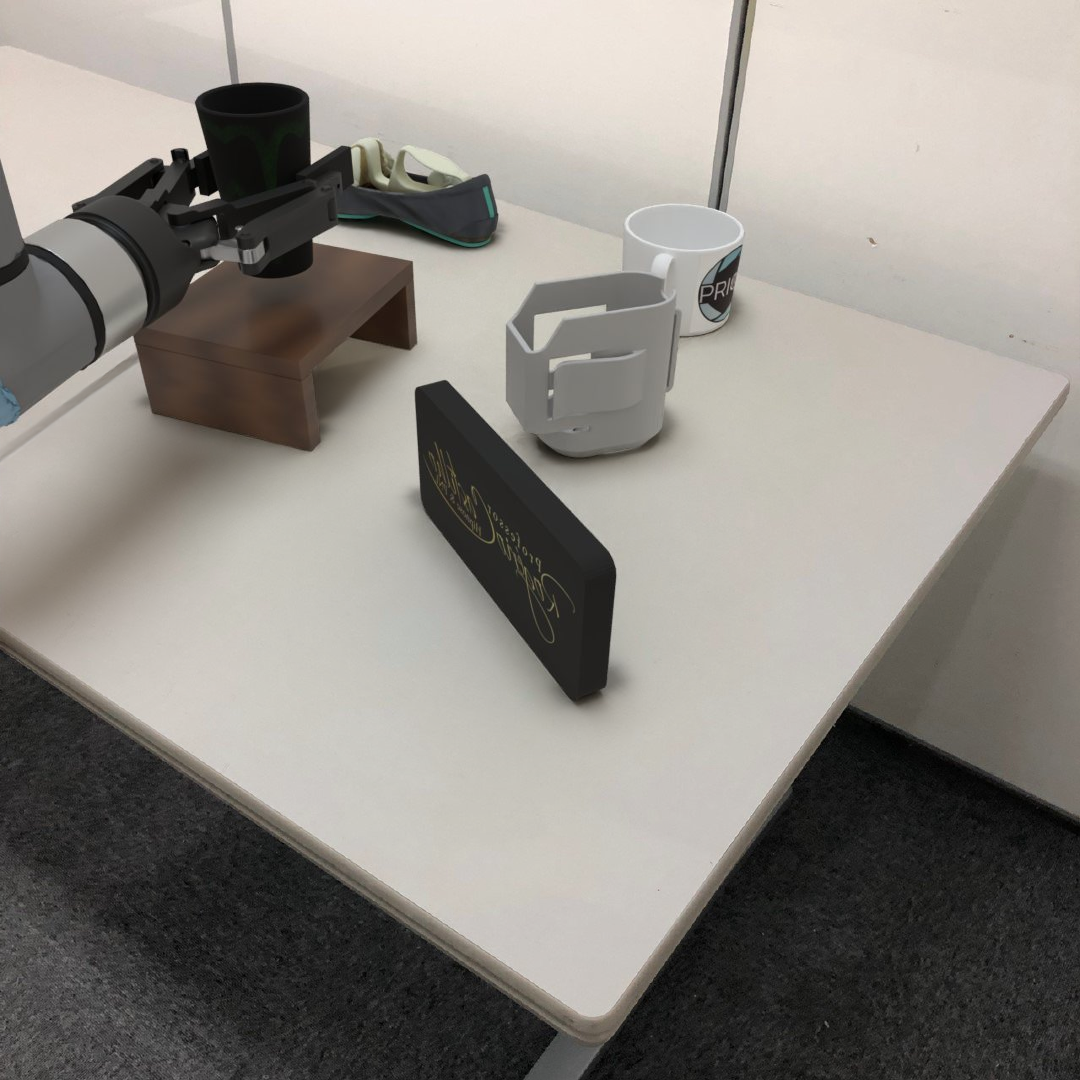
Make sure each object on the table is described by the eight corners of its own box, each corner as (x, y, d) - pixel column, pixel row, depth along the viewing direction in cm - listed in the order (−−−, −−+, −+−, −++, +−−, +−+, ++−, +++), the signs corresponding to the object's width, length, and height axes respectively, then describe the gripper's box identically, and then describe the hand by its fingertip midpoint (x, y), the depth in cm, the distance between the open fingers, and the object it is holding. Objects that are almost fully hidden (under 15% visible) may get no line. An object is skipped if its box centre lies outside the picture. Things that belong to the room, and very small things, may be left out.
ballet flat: (324, 186, 119) (316, 111, 114) (515, 229, 111) (515, 150, 105) (278, 211, 113) (267, 133, 108) (476, 259, 105) (474, 177, 100)
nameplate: (605, 695, 60) (618, 560, 54) (577, 707, 59) (586, 572, 53) (445, 499, 74) (441, 373, 68) (421, 506, 73) (413, 380, 67)
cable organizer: (502, 432, 81) (502, 286, 73) (651, 406, 84) (665, 263, 76) (530, 481, 76) (533, 330, 68) (687, 451, 79) (707, 304, 72)
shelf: (151, 412, 82) (130, 324, 77) (276, 313, 95) (264, 232, 90) (311, 451, 78) (298, 362, 73) (417, 342, 91) (412, 260, 87)
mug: (636, 278, 102) (643, 195, 97) (743, 297, 99) (756, 214, 94) (591, 340, 92) (596, 252, 87) (709, 364, 90) (721, 274, 84)
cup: (262, 235, 84) (238, 76, 77) (346, 252, 82) (329, 90, 74) (202, 273, 79) (170, 105, 71) (291, 292, 76) (267, 121, 69)
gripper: (-19, 305, 68) (192, 185, 85) (258, 366, 63) (424, 226, 79) (-58, 189, 63) (173, 87, 80) (238, 245, 58) (419, 123, 75)
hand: (298, 156), depth 80 cm, fingers closed on cup, 8 cm apart
